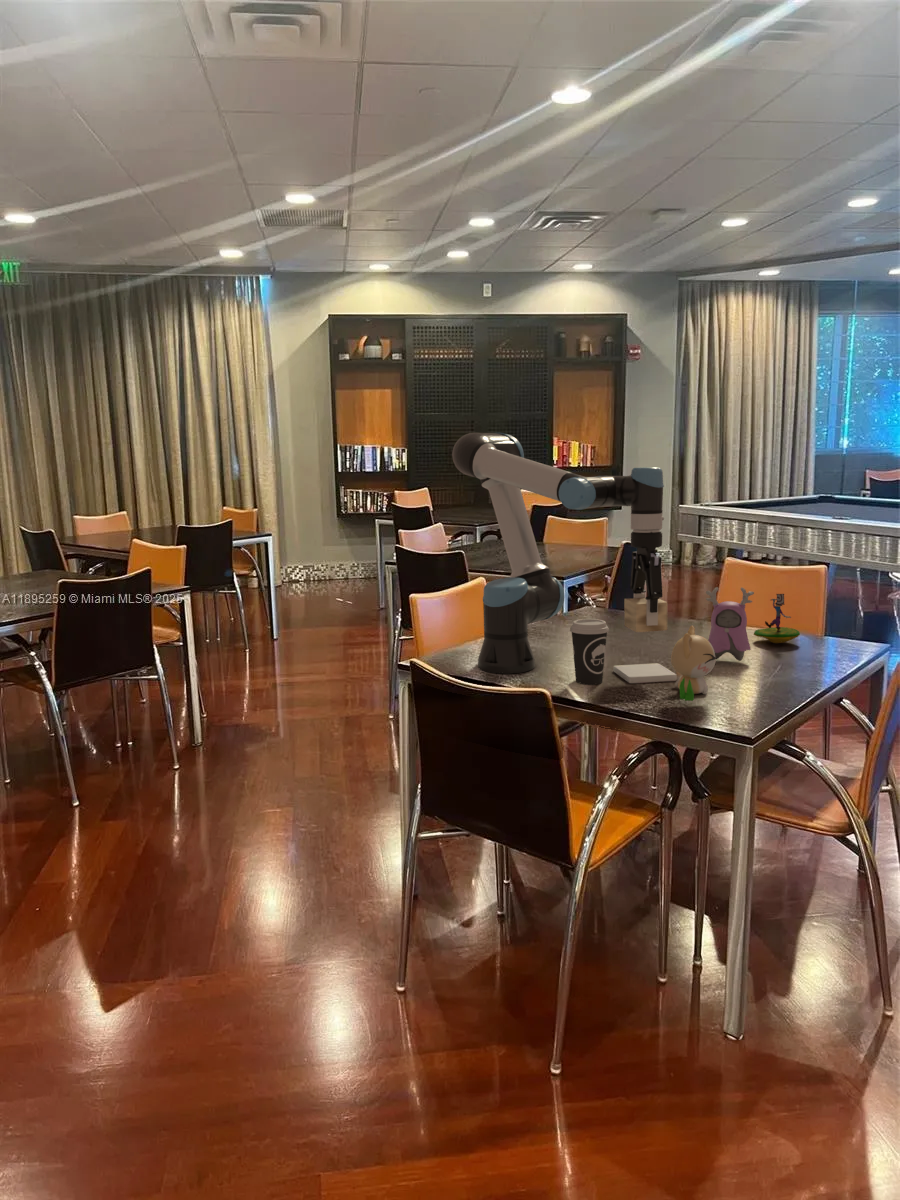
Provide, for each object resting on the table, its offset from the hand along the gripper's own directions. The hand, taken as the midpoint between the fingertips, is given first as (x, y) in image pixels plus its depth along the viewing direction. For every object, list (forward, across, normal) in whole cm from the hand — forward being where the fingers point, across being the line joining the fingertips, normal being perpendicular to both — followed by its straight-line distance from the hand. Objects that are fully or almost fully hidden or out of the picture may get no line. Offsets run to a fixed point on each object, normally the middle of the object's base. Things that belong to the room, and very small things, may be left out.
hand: (645, 621), depth 204 cm
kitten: (+14, -17, -5) cm, 23 cm away
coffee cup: (+14, -2, +15) cm, 21 cm away
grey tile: (+14, 0, 0) cm, 14 cm away
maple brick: (+2, 0, 0) cm, 2 cm away
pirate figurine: (+14, +28, -51) cm, 60 cm away
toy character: (+14, +11, -27) cm, 33 cm away
